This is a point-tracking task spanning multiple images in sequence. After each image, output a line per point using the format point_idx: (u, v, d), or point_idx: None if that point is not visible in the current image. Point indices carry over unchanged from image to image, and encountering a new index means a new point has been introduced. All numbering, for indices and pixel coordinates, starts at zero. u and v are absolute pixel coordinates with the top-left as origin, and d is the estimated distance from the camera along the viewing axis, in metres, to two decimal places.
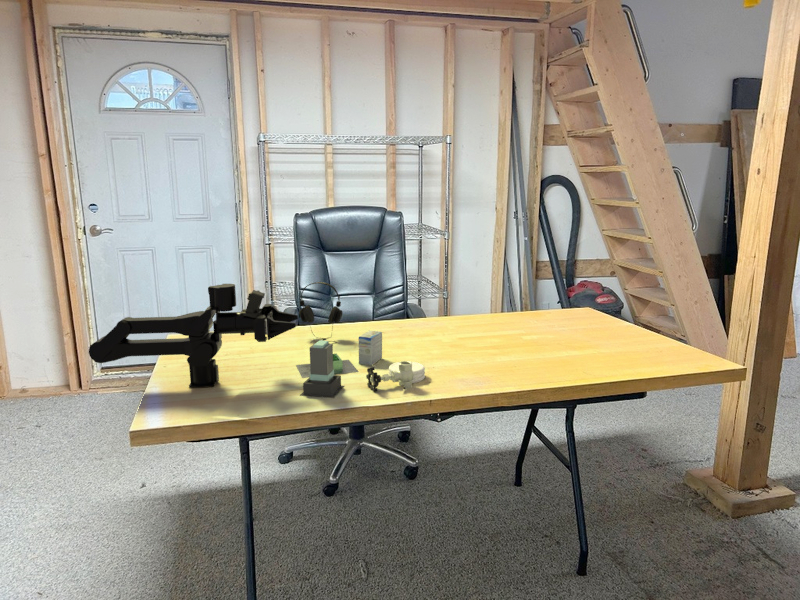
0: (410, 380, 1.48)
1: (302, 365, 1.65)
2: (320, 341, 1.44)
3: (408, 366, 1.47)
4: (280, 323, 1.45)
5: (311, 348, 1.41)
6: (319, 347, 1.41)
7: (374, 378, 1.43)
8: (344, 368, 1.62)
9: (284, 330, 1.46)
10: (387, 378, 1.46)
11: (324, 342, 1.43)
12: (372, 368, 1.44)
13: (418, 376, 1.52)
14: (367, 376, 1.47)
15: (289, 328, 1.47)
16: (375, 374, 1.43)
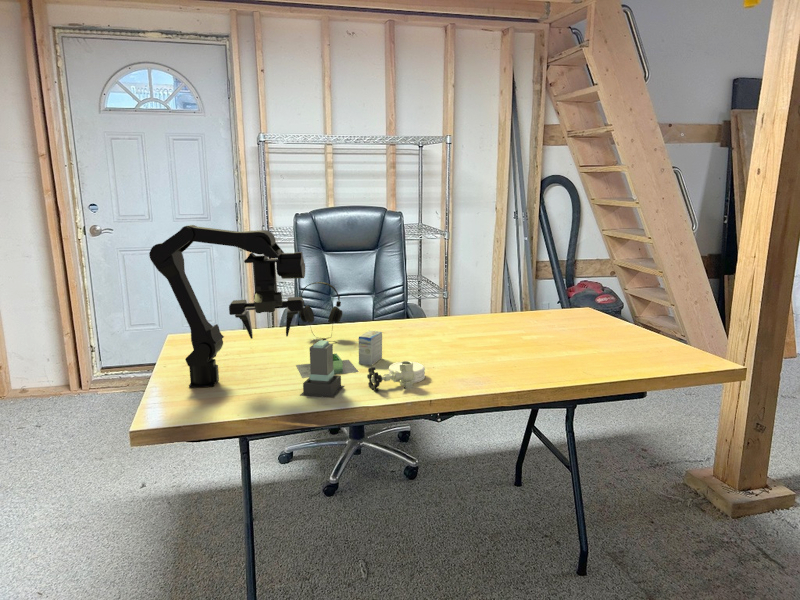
0: (411, 380, 1.48)
1: (302, 365, 1.65)
2: (320, 341, 1.44)
3: (409, 366, 1.47)
4: None
5: (311, 348, 1.41)
6: (319, 347, 1.41)
7: (375, 378, 1.43)
8: (344, 368, 1.62)
9: None
10: (388, 378, 1.46)
11: (324, 342, 1.43)
12: (373, 368, 1.45)
13: (418, 376, 1.52)
14: (368, 376, 1.47)
15: None
16: (376, 374, 1.43)
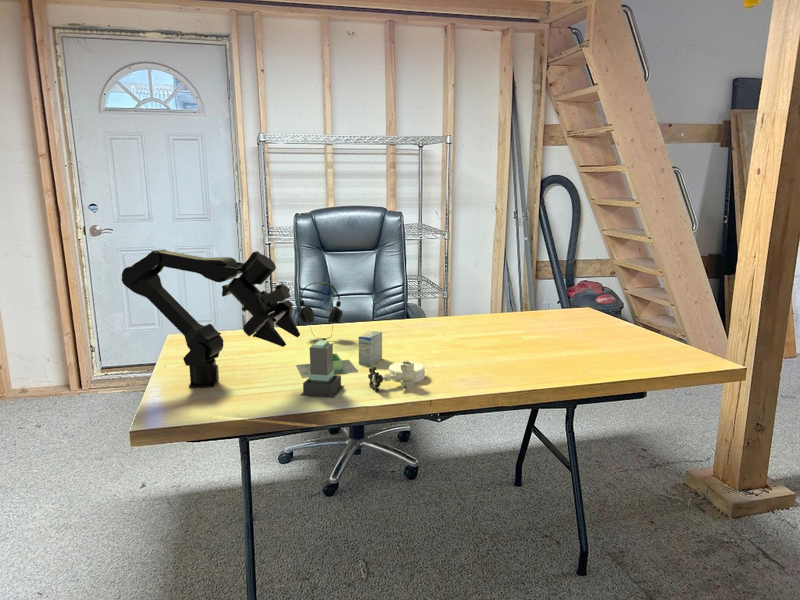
0: (412, 380, 1.48)
1: (302, 365, 1.65)
2: (320, 341, 1.44)
3: (410, 366, 1.47)
4: (274, 333, 1.38)
5: (311, 348, 1.41)
6: (319, 347, 1.41)
7: (376, 378, 1.43)
8: (344, 368, 1.62)
9: (272, 341, 1.39)
10: (389, 378, 1.46)
11: (324, 342, 1.43)
12: (374, 368, 1.45)
13: (418, 376, 1.52)
14: (369, 376, 1.47)
15: (277, 344, 1.40)
16: (377, 374, 1.43)
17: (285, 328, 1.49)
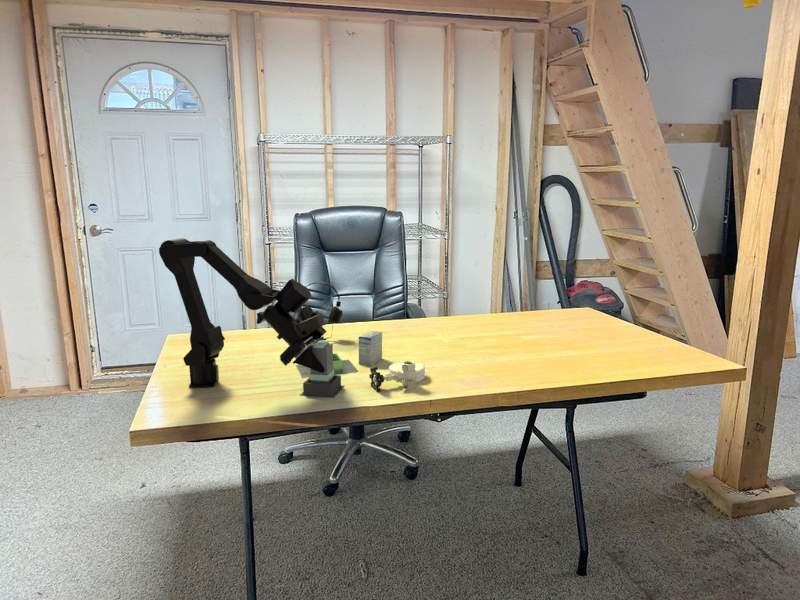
0: (413, 380, 1.48)
1: None
2: (320, 341, 1.44)
3: (411, 366, 1.47)
4: (313, 360, 1.40)
5: None
6: (319, 347, 1.41)
7: (377, 378, 1.44)
8: (344, 368, 1.62)
9: (311, 367, 1.41)
10: (390, 378, 1.46)
11: (324, 342, 1.43)
12: (375, 368, 1.45)
13: (418, 376, 1.53)
14: (370, 376, 1.48)
15: (316, 370, 1.41)
16: (378, 374, 1.43)
17: None
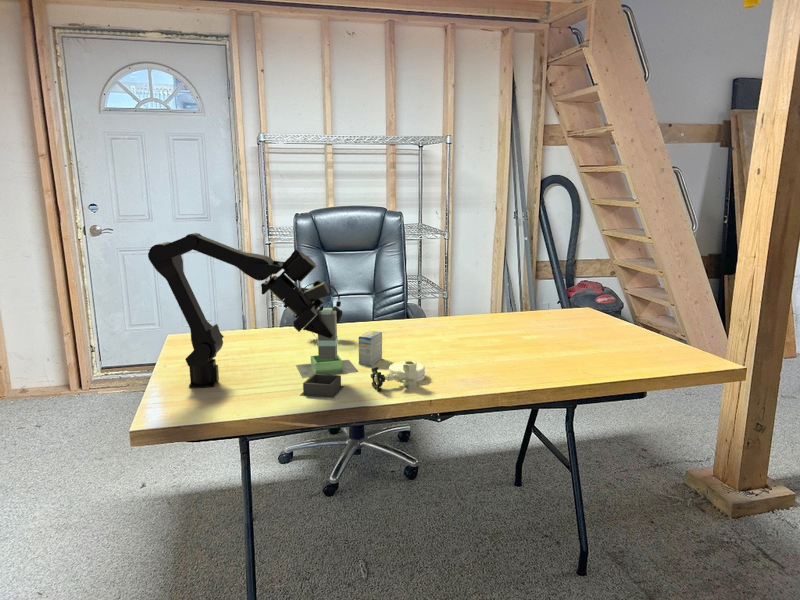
0: (414, 380, 1.48)
1: (302, 365, 1.65)
2: (325, 309, 1.50)
3: (412, 366, 1.47)
4: (322, 326, 1.46)
5: None
6: (327, 314, 1.47)
7: (378, 378, 1.44)
8: (344, 368, 1.62)
9: (320, 333, 1.46)
10: (391, 378, 1.46)
11: (329, 309, 1.49)
12: (376, 368, 1.45)
13: (418, 376, 1.53)
14: (371, 375, 1.48)
15: (324, 335, 1.47)
16: (379, 374, 1.43)
17: None
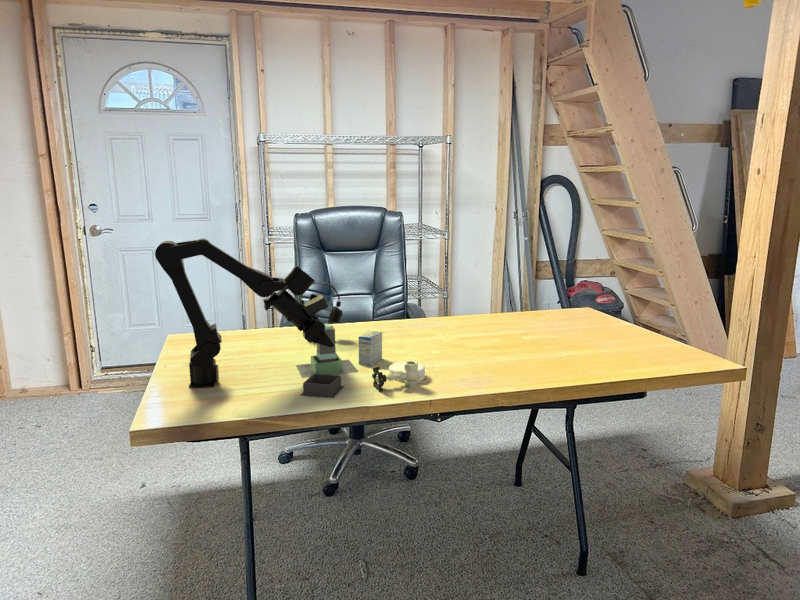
0: (416, 380, 1.48)
1: (302, 365, 1.65)
2: None
3: (414, 366, 1.47)
4: (326, 336, 1.56)
5: None
6: (328, 329, 1.58)
7: (379, 378, 1.44)
8: (344, 368, 1.62)
9: (323, 343, 1.56)
10: (392, 378, 1.46)
11: (327, 325, 1.61)
12: (377, 368, 1.45)
13: None
14: (373, 375, 1.48)
15: (327, 345, 1.57)
16: (380, 374, 1.43)
17: None
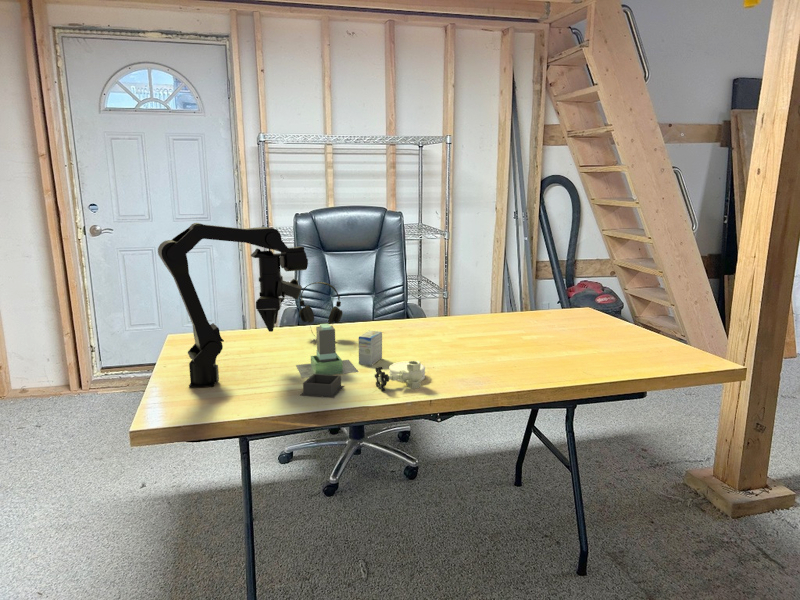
0: (418, 380, 1.48)
1: (302, 365, 1.65)
2: (322, 324, 1.61)
3: (416, 366, 1.47)
4: (273, 319, 1.53)
5: (320, 331, 1.58)
6: (328, 329, 1.58)
7: (382, 377, 1.44)
8: (344, 368, 1.62)
9: (266, 322, 1.53)
10: (395, 377, 1.47)
11: (327, 325, 1.61)
12: (380, 367, 1.45)
13: None
14: (375, 375, 1.48)
15: (267, 326, 1.54)
16: (383, 373, 1.43)
17: None
